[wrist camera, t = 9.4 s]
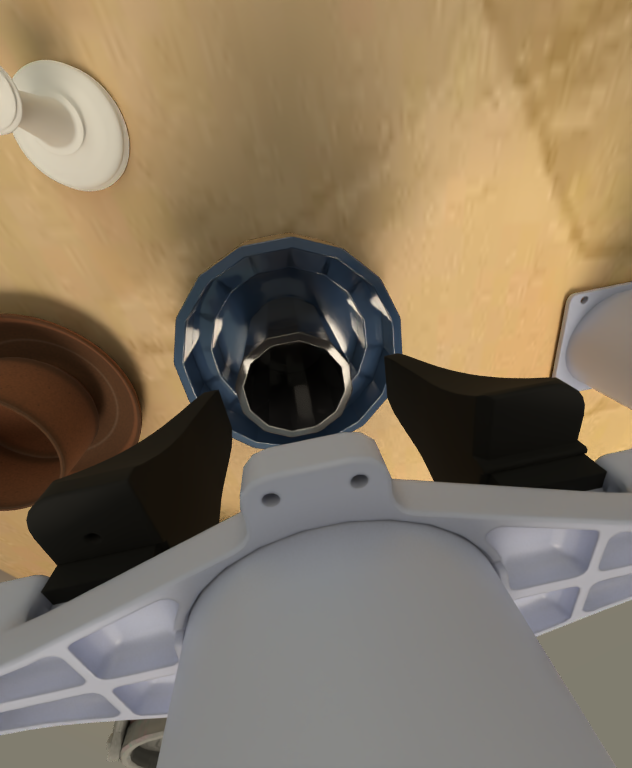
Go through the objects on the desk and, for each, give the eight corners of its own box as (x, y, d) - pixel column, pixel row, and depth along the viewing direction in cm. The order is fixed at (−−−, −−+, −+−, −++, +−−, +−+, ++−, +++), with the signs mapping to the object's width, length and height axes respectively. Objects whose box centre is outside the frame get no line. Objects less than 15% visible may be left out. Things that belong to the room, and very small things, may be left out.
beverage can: (167, 530, 28) (103, 719, 18) (264, 539, 30) (259, 715, 20) (157, 596, 32) (100, 784, 21) (244, 600, 34) (231, 776, 23)
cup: (322, 289, 20) (344, 323, 14) (334, 366, 22) (357, 424, 16) (237, 306, 20) (221, 347, 14) (258, 381, 22) (253, 446, 16)
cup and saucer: (33, 487, 25) (-35, 564, 19) (-112, 345, 19) (-265, 397, 14) (182, 437, 24) (156, 501, 19) (78, 276, 19) (-3, 301, 13)
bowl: (370, 215, 19) (396, 216, 15) (384, 394, 25) (406, 428, 21) (163, 255, 19) (133, 266, 15) (225, 427, 24) (216, 468, 20)
